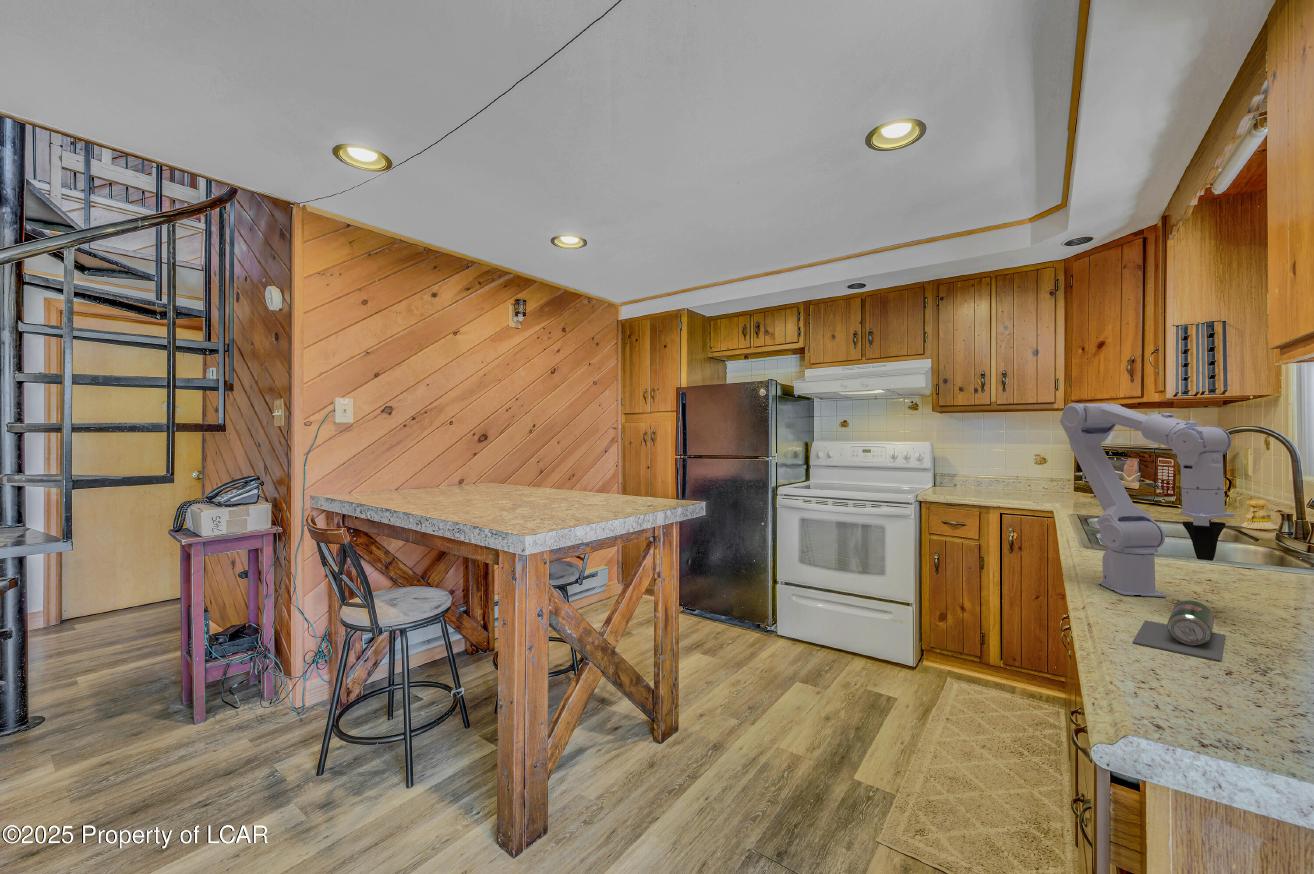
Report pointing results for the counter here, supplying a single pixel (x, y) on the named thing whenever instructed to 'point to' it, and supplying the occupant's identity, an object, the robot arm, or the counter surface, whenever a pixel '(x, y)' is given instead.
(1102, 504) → the robot arm
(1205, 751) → the counter surface
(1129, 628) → the counter surface
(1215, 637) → the mat
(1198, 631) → the soda can
